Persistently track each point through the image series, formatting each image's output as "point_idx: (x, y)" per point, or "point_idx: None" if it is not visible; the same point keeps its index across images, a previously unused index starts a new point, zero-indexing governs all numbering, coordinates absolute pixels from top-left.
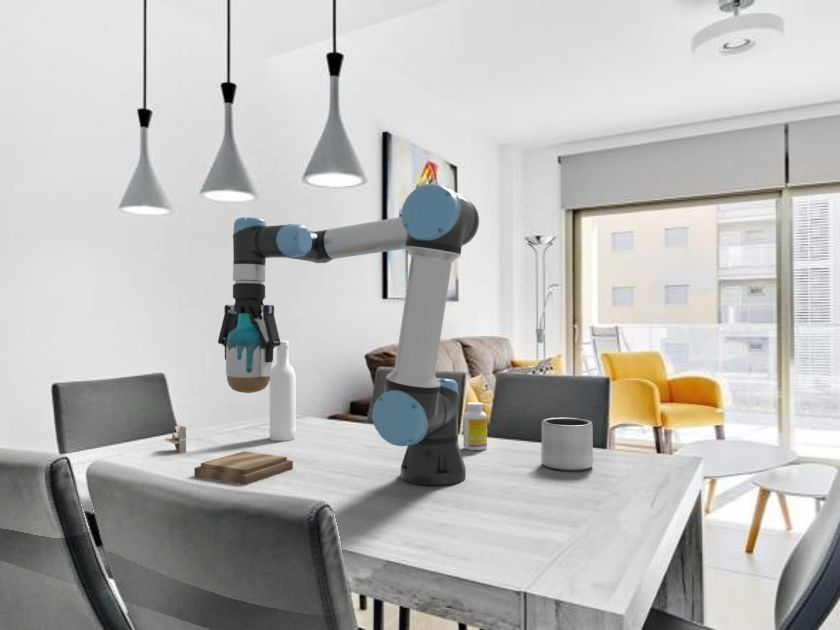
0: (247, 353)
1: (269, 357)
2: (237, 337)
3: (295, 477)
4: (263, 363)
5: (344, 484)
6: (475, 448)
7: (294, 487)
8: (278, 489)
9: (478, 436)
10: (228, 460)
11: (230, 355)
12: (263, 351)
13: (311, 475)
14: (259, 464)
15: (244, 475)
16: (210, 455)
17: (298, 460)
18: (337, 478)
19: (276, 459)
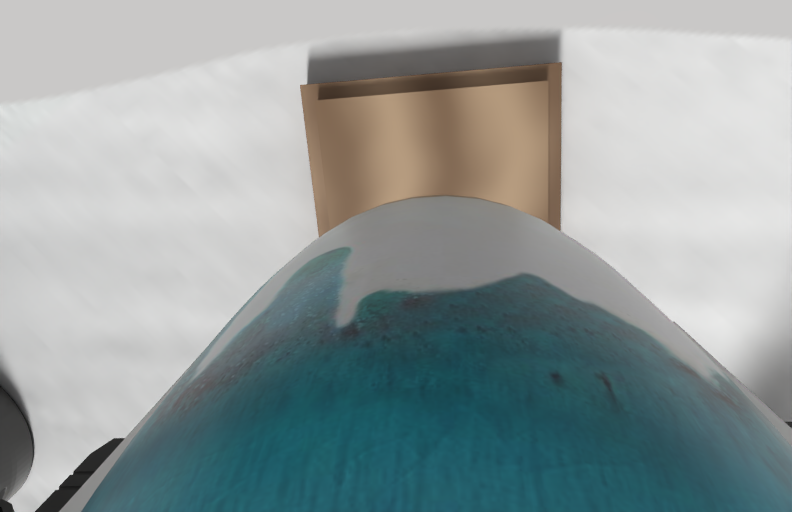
0: (211, 343)
1: (71, 481)
2: (301, 447)
3: (248, 240)
4: (157, 406)
5: (71, 256)
6: None
7: (161, 153)
8: (182, 108)
9: None
10: (484, 168)
11: (481, 243)
12: (72, 502)
13: (226, 283)
14: (336, 185)
15: (309, 87)
16: (742, 306)
17: None
18: (137, 296)
19: None
